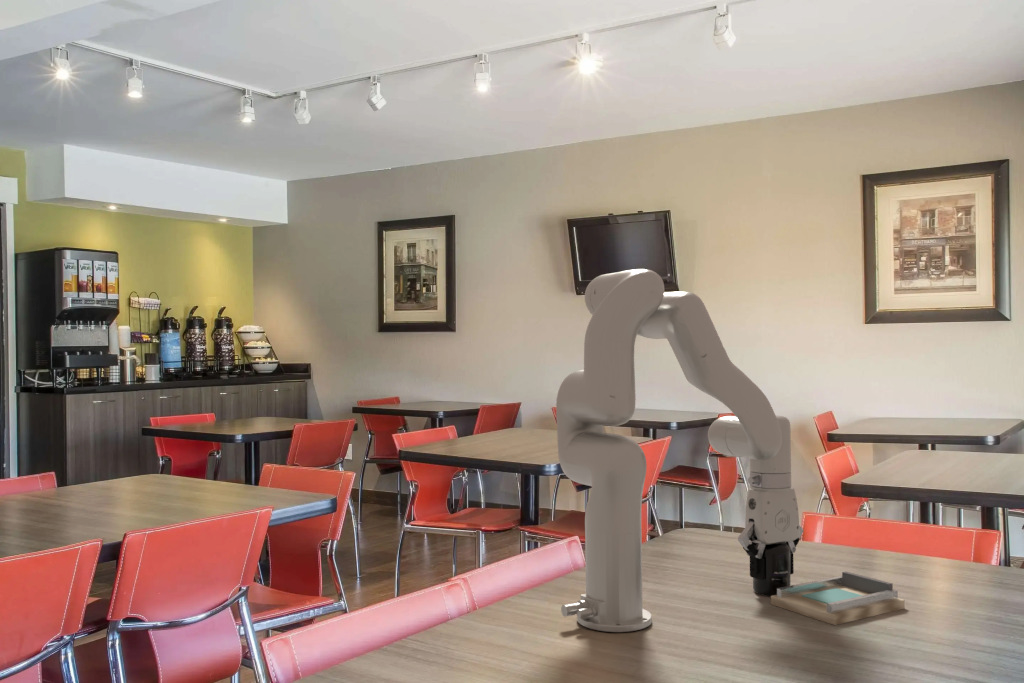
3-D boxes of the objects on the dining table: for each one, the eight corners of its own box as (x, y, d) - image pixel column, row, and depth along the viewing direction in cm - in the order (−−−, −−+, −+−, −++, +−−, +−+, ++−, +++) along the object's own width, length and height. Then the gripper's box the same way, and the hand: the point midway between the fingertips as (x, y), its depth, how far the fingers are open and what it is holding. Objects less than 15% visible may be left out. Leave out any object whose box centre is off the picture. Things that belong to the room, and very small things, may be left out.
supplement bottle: (783, 599, 158) (782, 533, 158) (747, 593, 162) (746, 529, 163) (796, 591, 164) (795, 527, 164) (761, 585, 168) (760, 523, 168)
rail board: (834, 625, 143) (834, 600, 143) (771, 604, 155) (770, 581, 155) (904, 608, 152) (904, 585, 152) (839, 589, 164) (838, 568, 164)
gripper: (751, 487, 156) (752, 586, 156) (818, 479, 164) (819, 573, 164) (722, 482, 162) (723, 577, 162) (787, 475, 171) (789, 565, 171)
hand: (771, 574), depth 163 cm, fingers closed on supplement bottle, 6 cm apart
